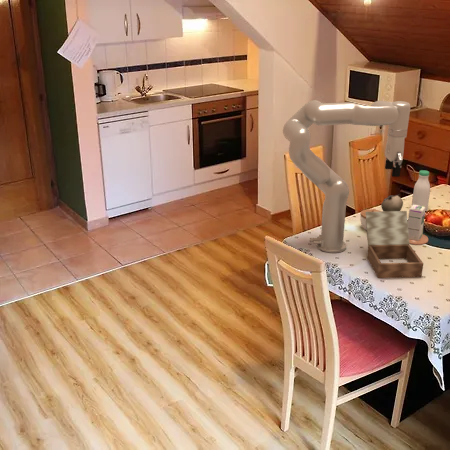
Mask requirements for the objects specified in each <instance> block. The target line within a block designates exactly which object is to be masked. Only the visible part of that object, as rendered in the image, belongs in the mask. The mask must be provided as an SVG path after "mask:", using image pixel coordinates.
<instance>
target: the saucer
mask: <svg viewBox="0 0 450 450" xmlns="http://www.w3.org/2000/svg"><path fill="white" fill-rule="evenodd" d="M428 242H429V238H428V236H427V235H425V234H422V237H421V239H420V240H419V241H416V240H411V239H409V245H412V246H413V245H414V246H422V245H426V244H428Z"/></svg>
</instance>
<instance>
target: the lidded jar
mask: <svg viewBox="0 0 450 450" xmlns="http://www.w3.org/2000/svg"><path fill="white" fill-rule="evenodd" d="M382 211H383V210H382ZM382 211H381V210H380V209H379V210H378V209H373V208H371V209H363V210H361V211H360V224H361V225H360V226H361V227H362V228H363V229H364V230H365V231H367V225H366V212H382Z"/></svg>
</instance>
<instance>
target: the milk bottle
mask: <svg viewBox="0 0 450 450" xmlns="http://www.w3.org/2000/svg"><path fill="white" fill-rule="evenodd" d="M429 177H430V171H428V170H423V169H421V170H419V172H418V179H417V181H416V182H415V184H414V187H413V191H412V192H413V193H412V199H411V206H412V205H421V206H425V207H426V209H425V211H426V212H428V209H429V203H430V202H429V200H430V194H431V185H430V181H429Z"/></svg>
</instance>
